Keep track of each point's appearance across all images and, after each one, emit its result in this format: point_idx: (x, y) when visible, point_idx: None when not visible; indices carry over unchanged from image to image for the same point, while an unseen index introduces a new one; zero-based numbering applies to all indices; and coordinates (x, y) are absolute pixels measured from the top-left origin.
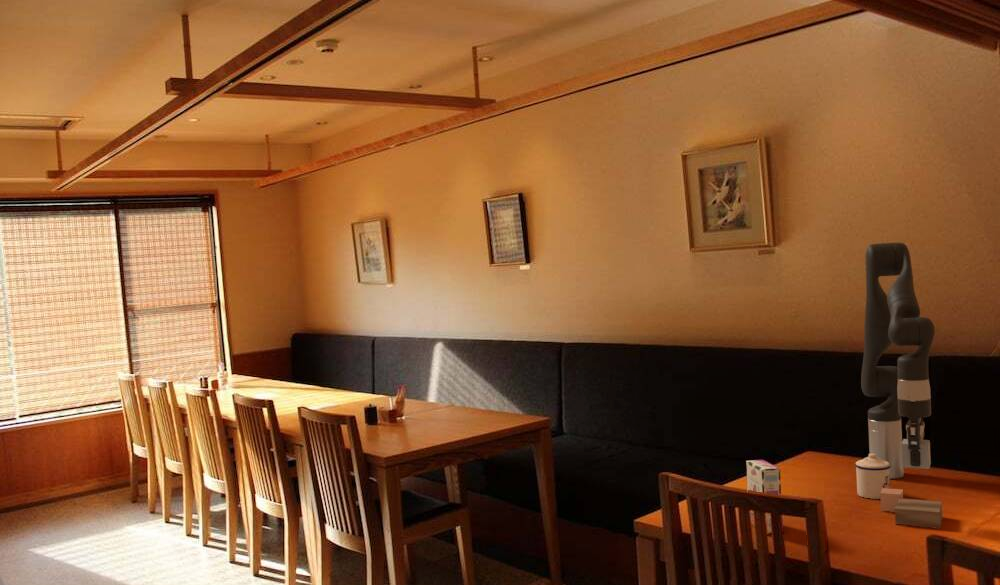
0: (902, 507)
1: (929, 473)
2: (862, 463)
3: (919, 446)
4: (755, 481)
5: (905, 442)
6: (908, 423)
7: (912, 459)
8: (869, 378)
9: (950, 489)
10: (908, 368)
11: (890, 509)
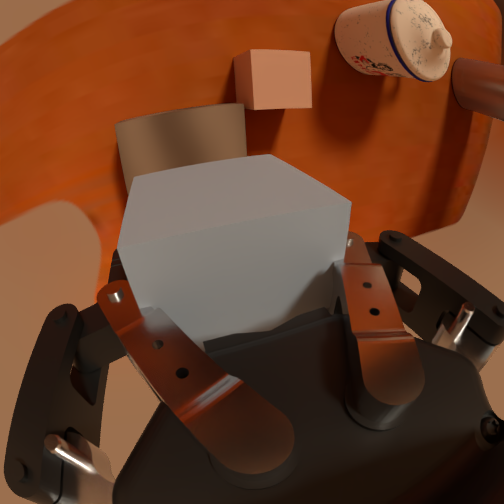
0: (138, 139)
1: (473, 146)
2: (408, 7)
3: (104, 372)
4: None
5: (197, 260)
6: (373, 408)
7: (113, 265)
8: None
9: (419, 181)
10: None
11: (237, 79)
